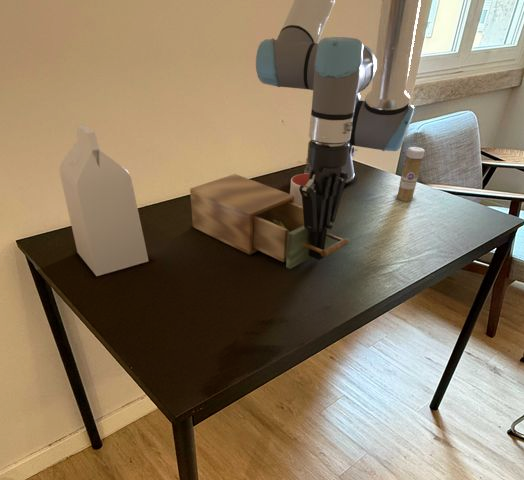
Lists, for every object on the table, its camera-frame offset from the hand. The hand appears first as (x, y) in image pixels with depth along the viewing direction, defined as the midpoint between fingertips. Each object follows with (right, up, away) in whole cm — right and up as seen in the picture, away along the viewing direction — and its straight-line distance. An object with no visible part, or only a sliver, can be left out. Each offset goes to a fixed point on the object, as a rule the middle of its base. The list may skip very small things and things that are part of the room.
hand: (316, 256), depth 97 cm
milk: (-44, 0, +1) cm, 44 cm away
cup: (0, +13, +19) cm, 23 cm away
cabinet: (-17, +9, +13) cm, 23 cm away
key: (-7, +5, +3) cm, 10 cm away
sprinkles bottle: (+29, +23, +31) cm, 49 cm away
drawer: (-6, +3, +4) cm, 7 cm away
